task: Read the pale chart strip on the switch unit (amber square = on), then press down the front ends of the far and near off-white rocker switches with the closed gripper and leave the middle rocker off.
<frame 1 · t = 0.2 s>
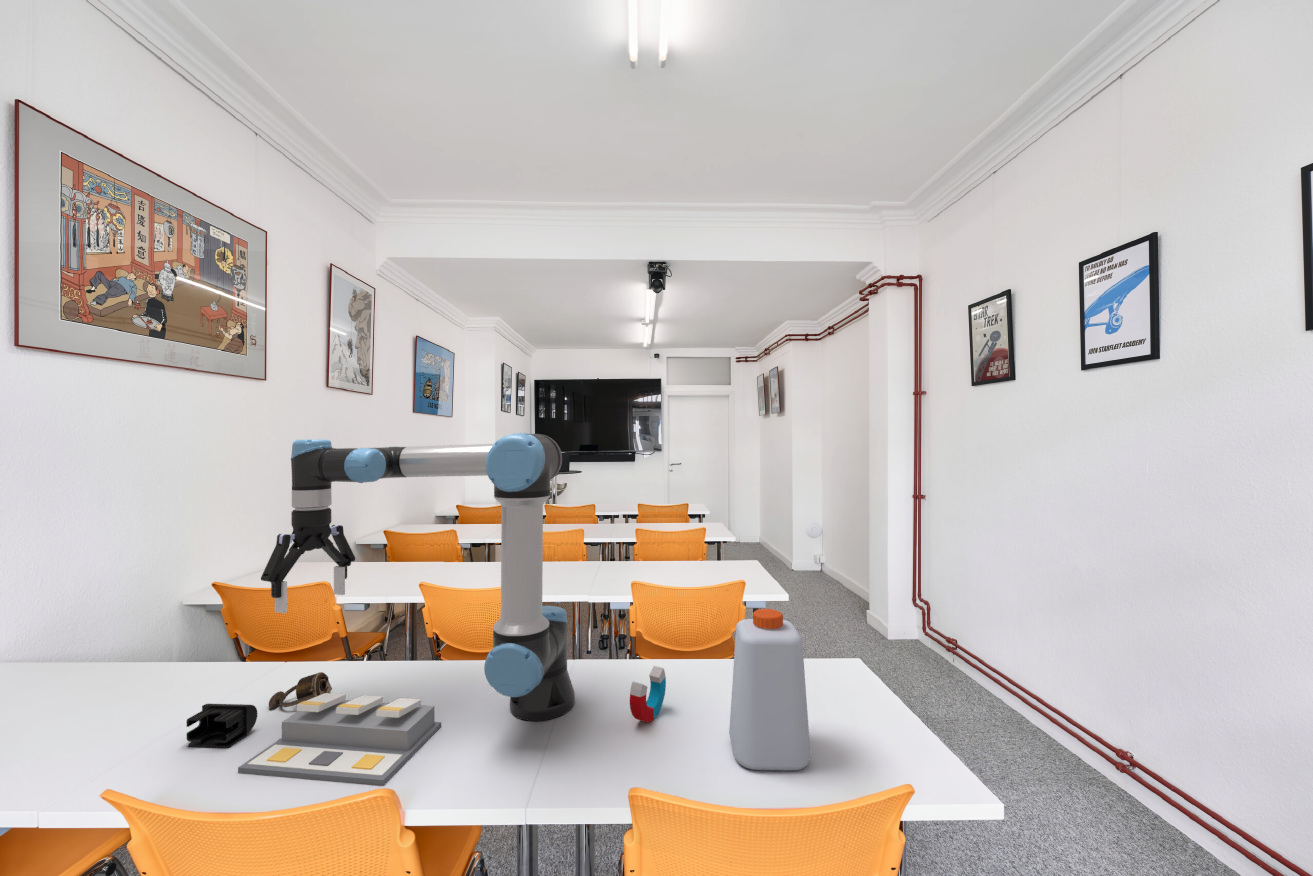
hand: (311, 602, 119), 27 cm above the table, fingers open, 13 cm apart
rocker near: (399, 707, 112), point 7 cm above the table, hinge at 10.0°
rocker far: (321, 701, 114), point 7 cm above the table, hinge at 10.0°
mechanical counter: (302, 703, 128), on the table
magnet: (648, 719, 120), on the table
end cap: (222, 739, 113), on the table
switch unit: (347, 748, 109), on the table
rocker middle: (360, 704, 113), point 7 cm above the table, hinge at 10.0°
plastic bottle: (768, 751, 108), on the table
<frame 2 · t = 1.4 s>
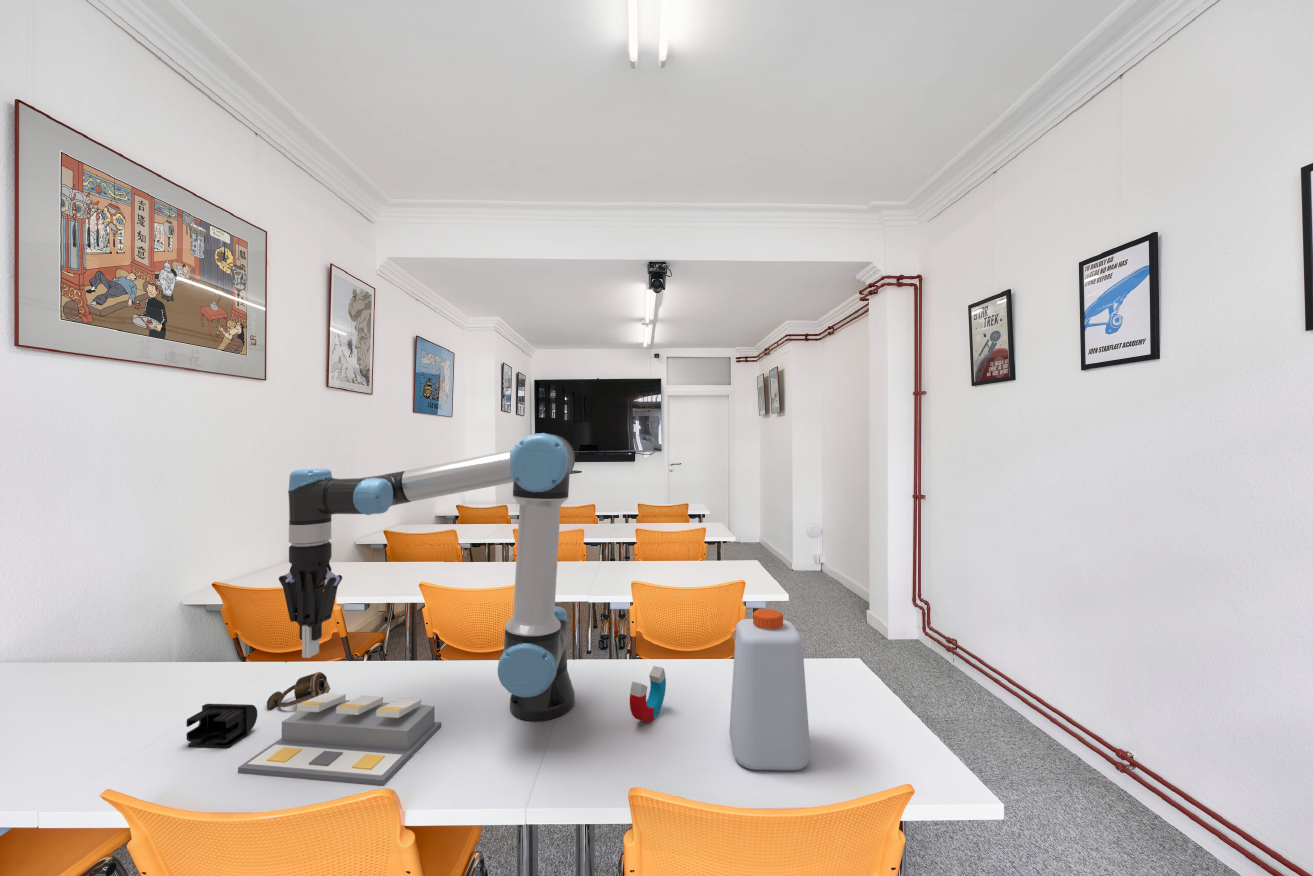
hand: (310, 654, 111), 18 cm above the table, fingers closed
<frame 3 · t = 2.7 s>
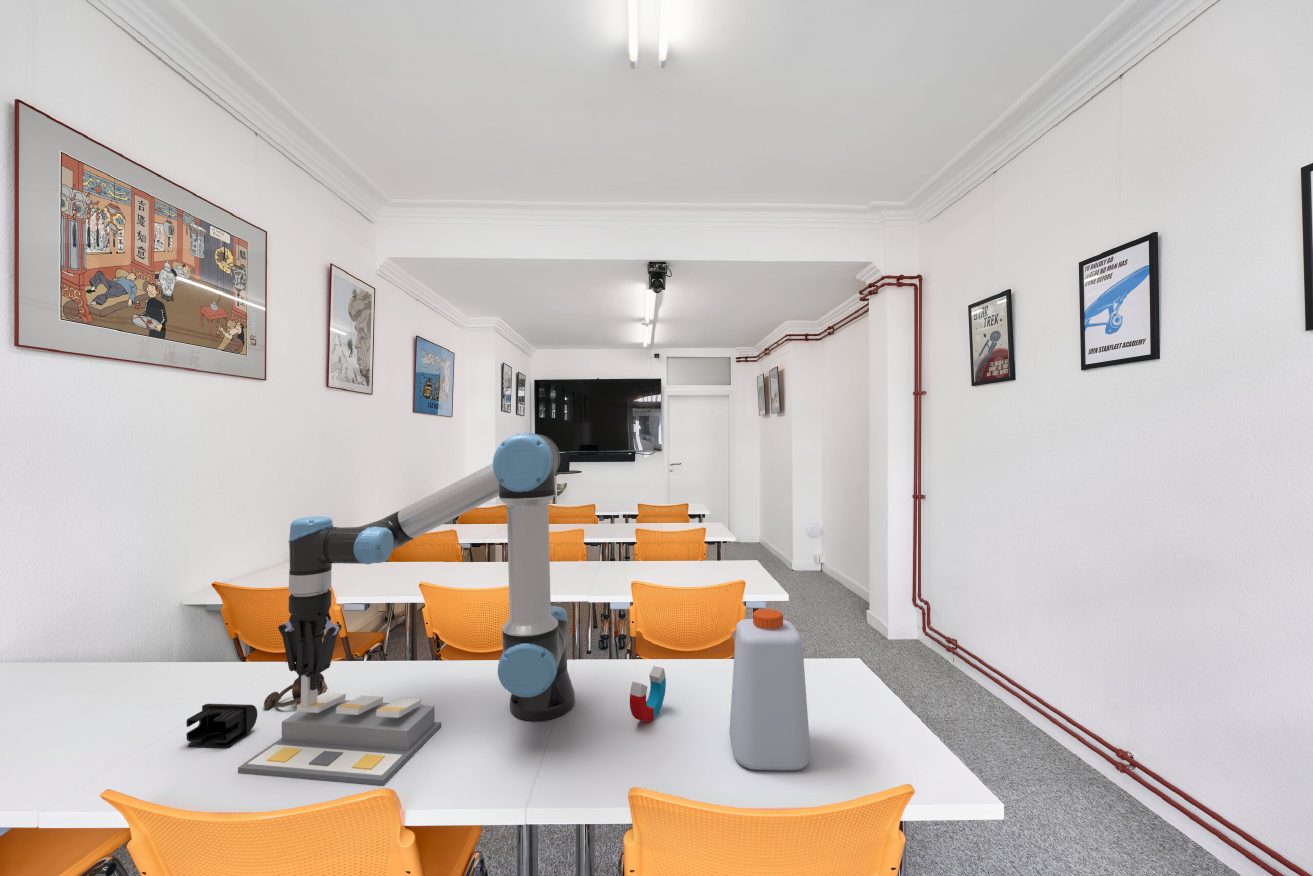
hand: (309, 704, 111), 8 cm above the table, fingers closed
rocker far: (321, 701, 114), point 7 cm above the table, hinge at 7.9°, touching gripper
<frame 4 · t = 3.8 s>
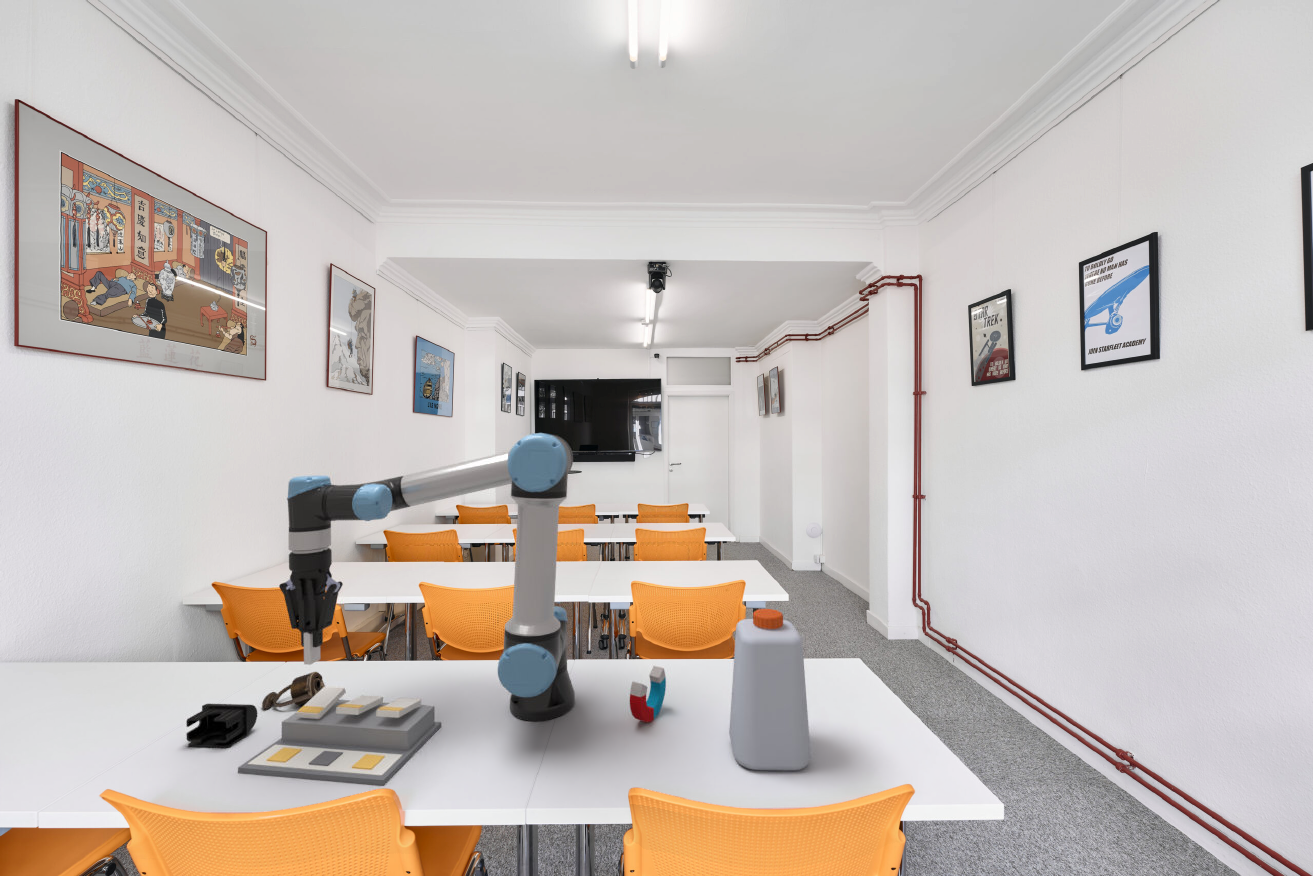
hand: (312, 661, 111), 17 cm above the table, fingers closed
rocker far: (321, 701, 114), point 7 cm above the table, hinge at -12.9°
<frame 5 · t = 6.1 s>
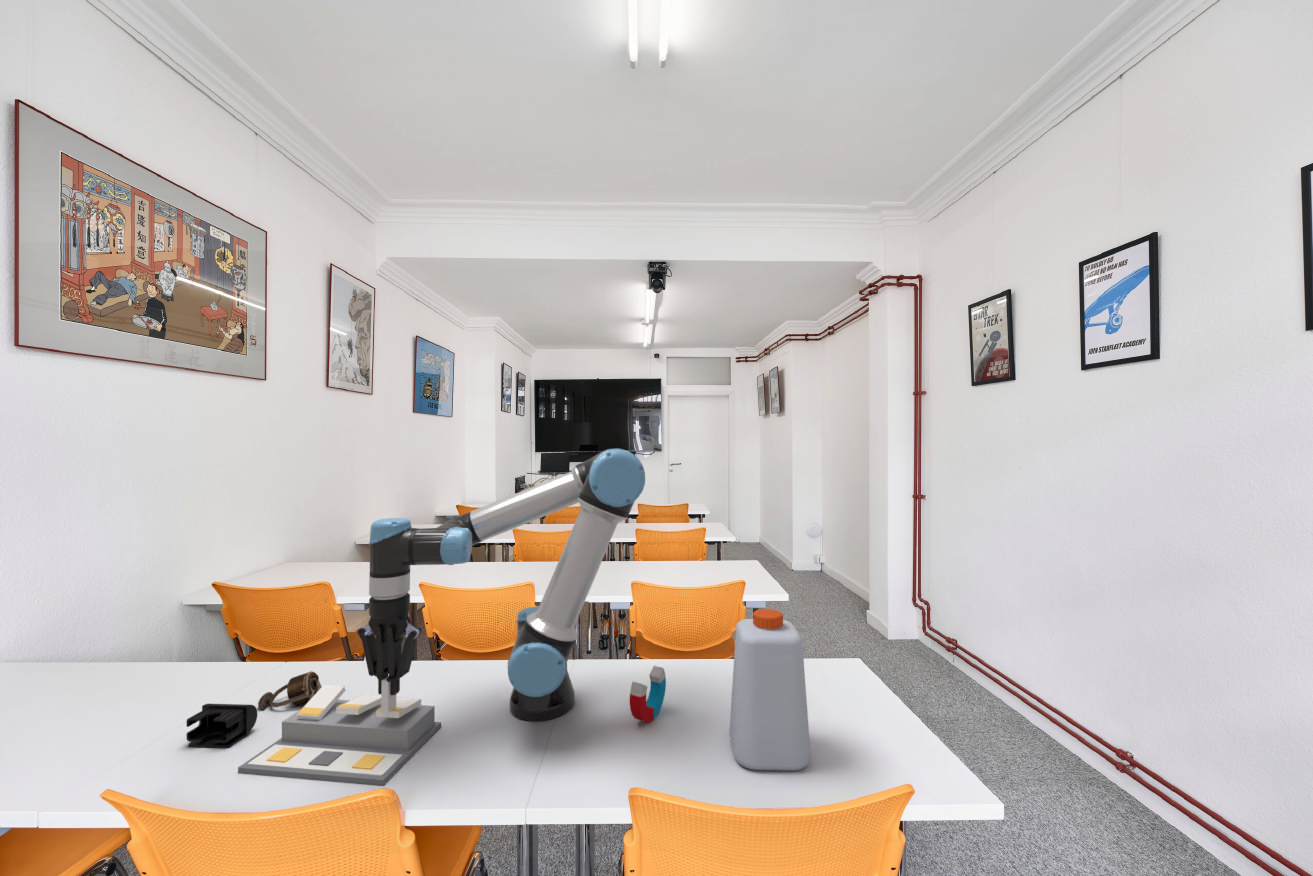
hand: (388, 709, 109), 8 cm above the table, fingers closed
rocker near: (399, 707, 112), point 7 cm above the table, hinge at 8.8°, touching gripper
rocker far: (321, 702, 114), point 7 cm above the table, hinge at -19.6°, touching switch unit
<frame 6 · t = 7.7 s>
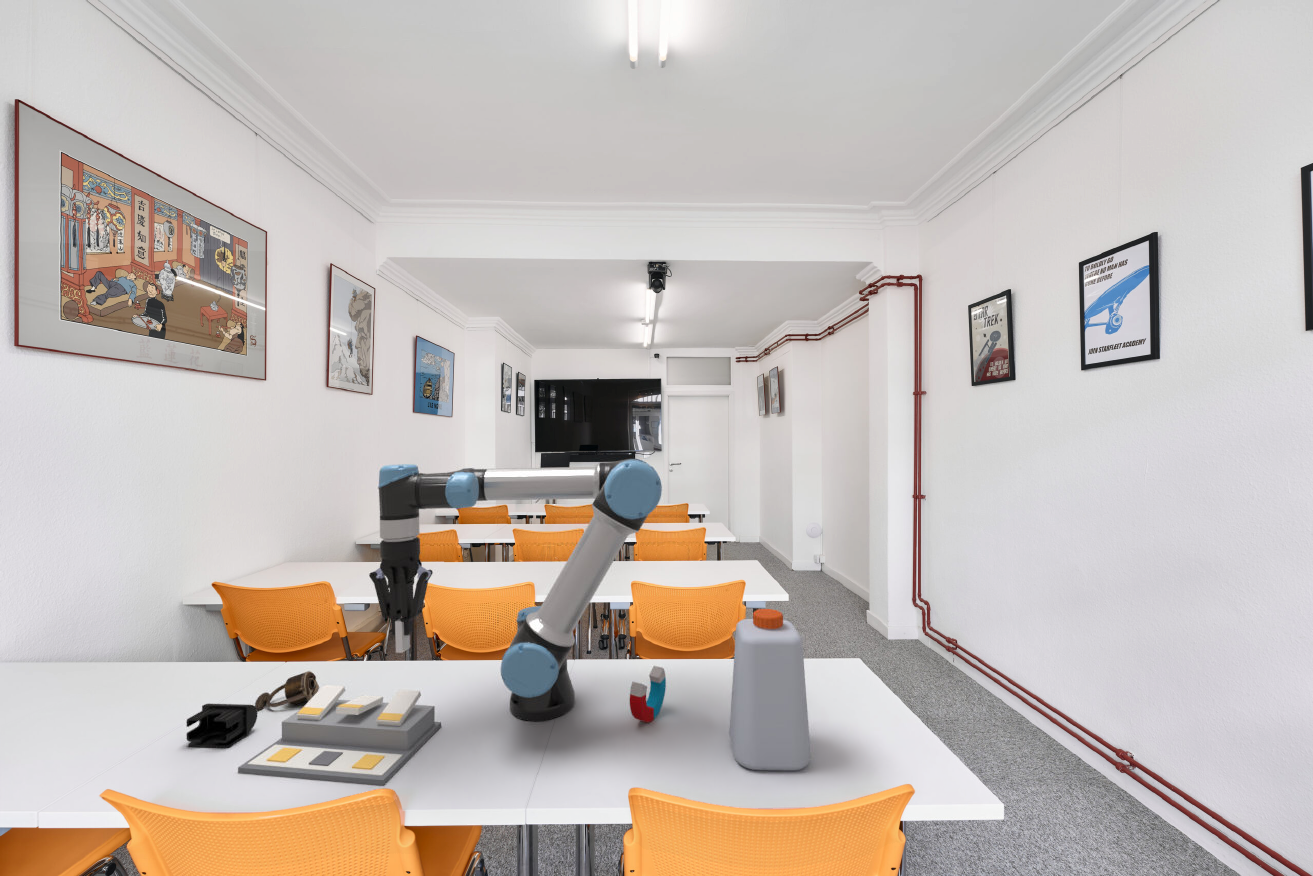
hand: (402, 650, 111), 19 cm above the table, fingers closed
rocker near: (399, 707, 112), point 7 cm above the table, hinge at -19.8°, touching switch unit
rocker far: (321, 702, 114), point 7 cm above the table, hinge at -19.1°
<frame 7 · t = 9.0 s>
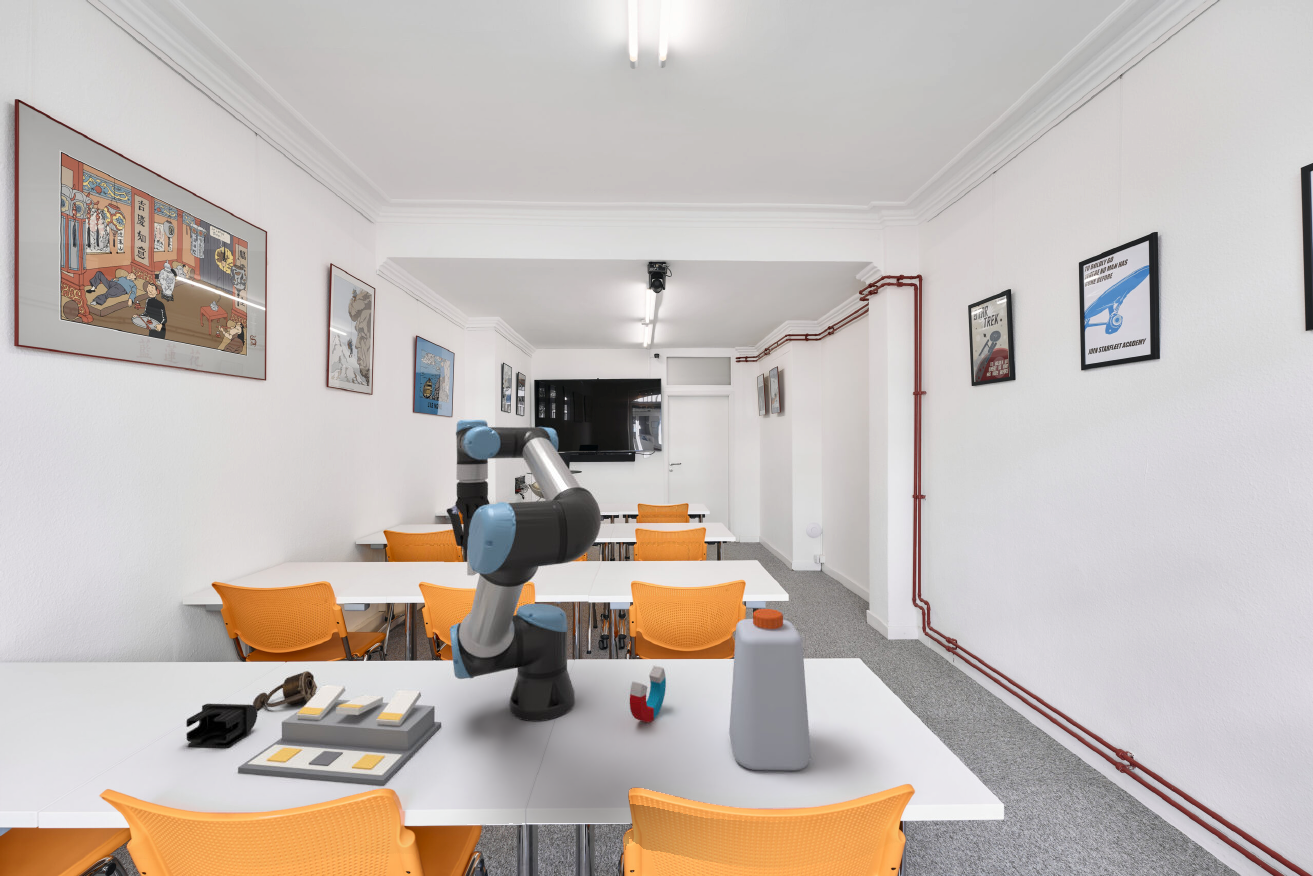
hand: (472, 574, 134), 29 cm above the table, fingers closed
rocker near: (399, 707, 112), point 7 cm above the table, hinge at -18.0°
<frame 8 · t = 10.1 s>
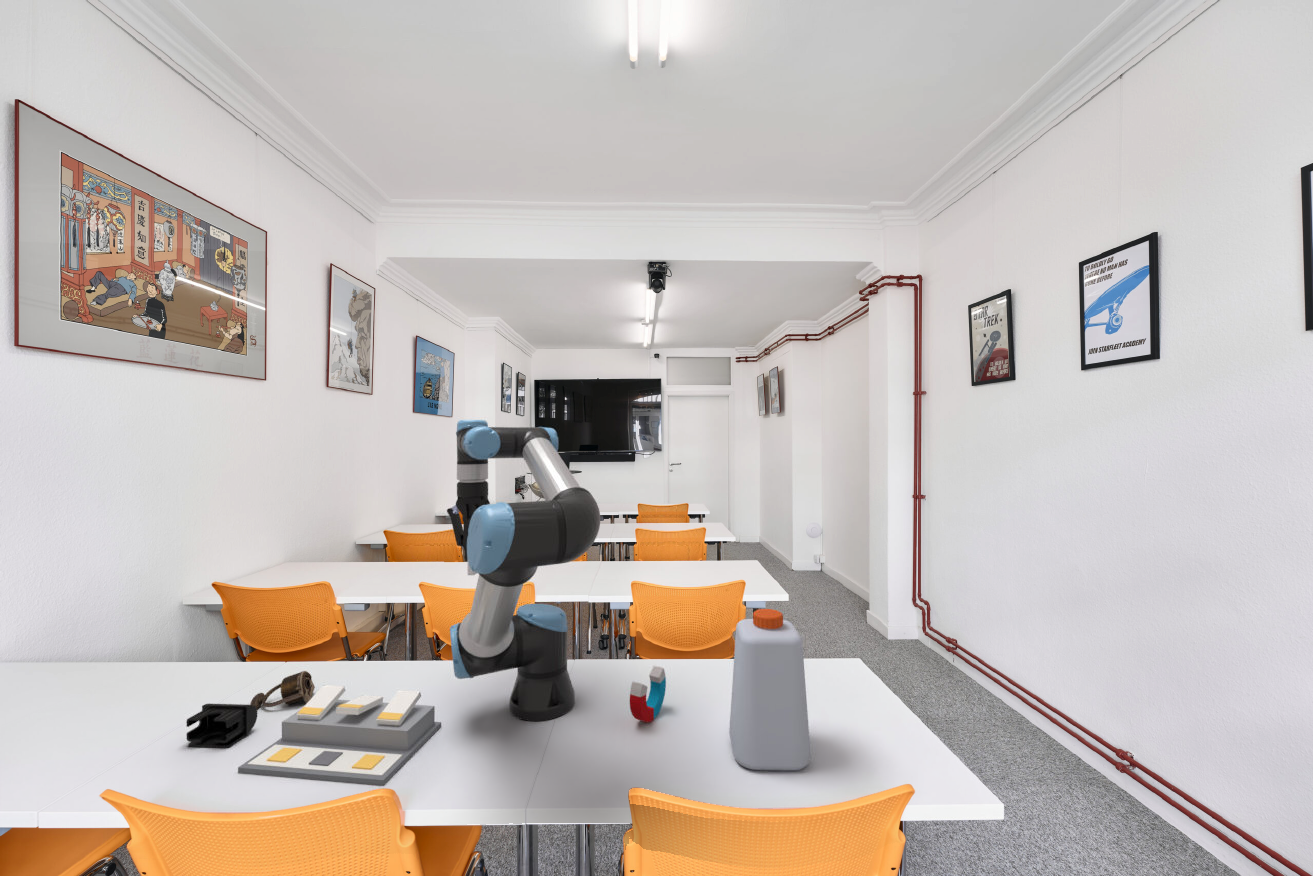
hand: (472, 573, 134), 29 cm above the table, fingers closed
rocker near: (399, 707, 112), point 7 cm above the table, hinge at -17.1°
at the end: rocker far at -19° (first picture: +10°); rocker near at -17° (first picture: +10°); rocker middle at +10° (first picture: +10°) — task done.
